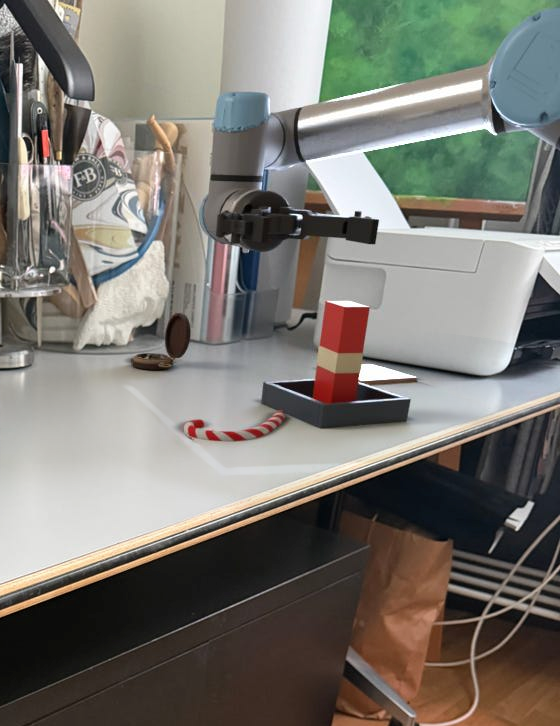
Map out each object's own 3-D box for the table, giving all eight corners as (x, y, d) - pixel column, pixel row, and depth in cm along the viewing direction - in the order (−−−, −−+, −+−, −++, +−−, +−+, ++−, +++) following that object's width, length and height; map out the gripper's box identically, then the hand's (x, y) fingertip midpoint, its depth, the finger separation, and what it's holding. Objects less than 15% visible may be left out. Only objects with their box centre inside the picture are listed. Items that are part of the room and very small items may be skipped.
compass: (122, 363, 136) (124, 311, 132) (171, 361, 138) (174, 309, 135) (147, 374, 129) (150, 319, 126) (197, 371, 132) (201, 317, 128)
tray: (406, 425, 106) (411, 398, 105) (320, 432, 102) (324, 405, 101) (340, 401, 117) (344, 376, 115) (260, 407, 113) (263, 381, 111)
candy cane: (308, 414, 104) (230, 437, 95) (307, 426, 105) (228, 450, 95) (250, 402, 109) (170, 423, 99) (249, 413, 110) (169, 435, 100)
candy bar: (334, 406, 112) (350, 300, 106) (353, 416, 107) (370, 306, 102) (310, 406, 111) (324, 300, 106) (328, 417, 107) (344, 307, 101)
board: (415, 384, 127) (417, 377, 126) (360, 388, 124) (361, 380, 123) (370, 370, 135) (371, 363, 135) (317, 373, 132) (318, 366, 132)
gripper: (336, 250, 132) (412, 266, 113) (166, 249, 127) (215, 264, 109) (345, 192, 128) (424, 197, 110) (170, 187, 124) (221, 193, 105)
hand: (320, 231), depth 109 cm, fingers open, 13 cm apart
